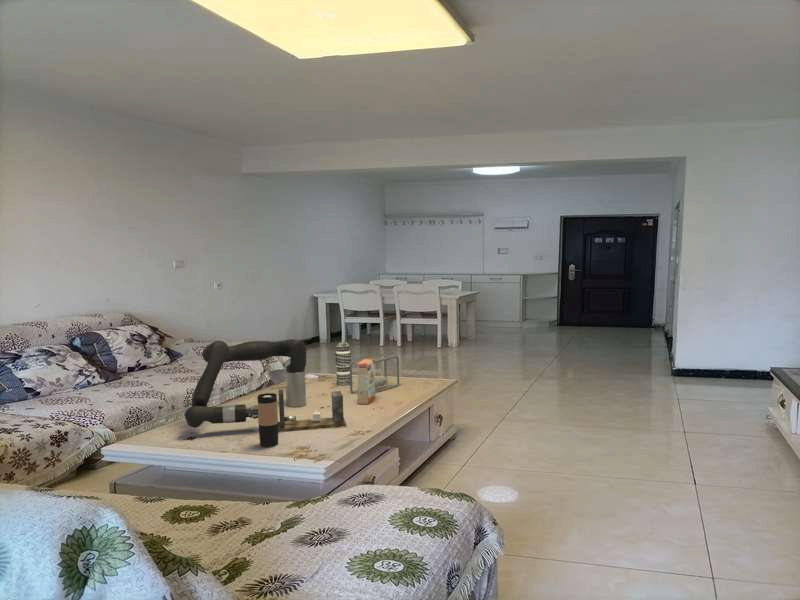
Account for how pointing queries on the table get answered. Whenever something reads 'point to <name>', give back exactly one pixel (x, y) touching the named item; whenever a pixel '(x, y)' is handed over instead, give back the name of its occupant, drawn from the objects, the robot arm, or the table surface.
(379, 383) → the newton's cradle
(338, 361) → the decorative candle
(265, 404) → the travel mug
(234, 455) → the table surface
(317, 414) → the cream lever switch
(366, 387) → the cracker box
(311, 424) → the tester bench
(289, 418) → the brushed metal plate
